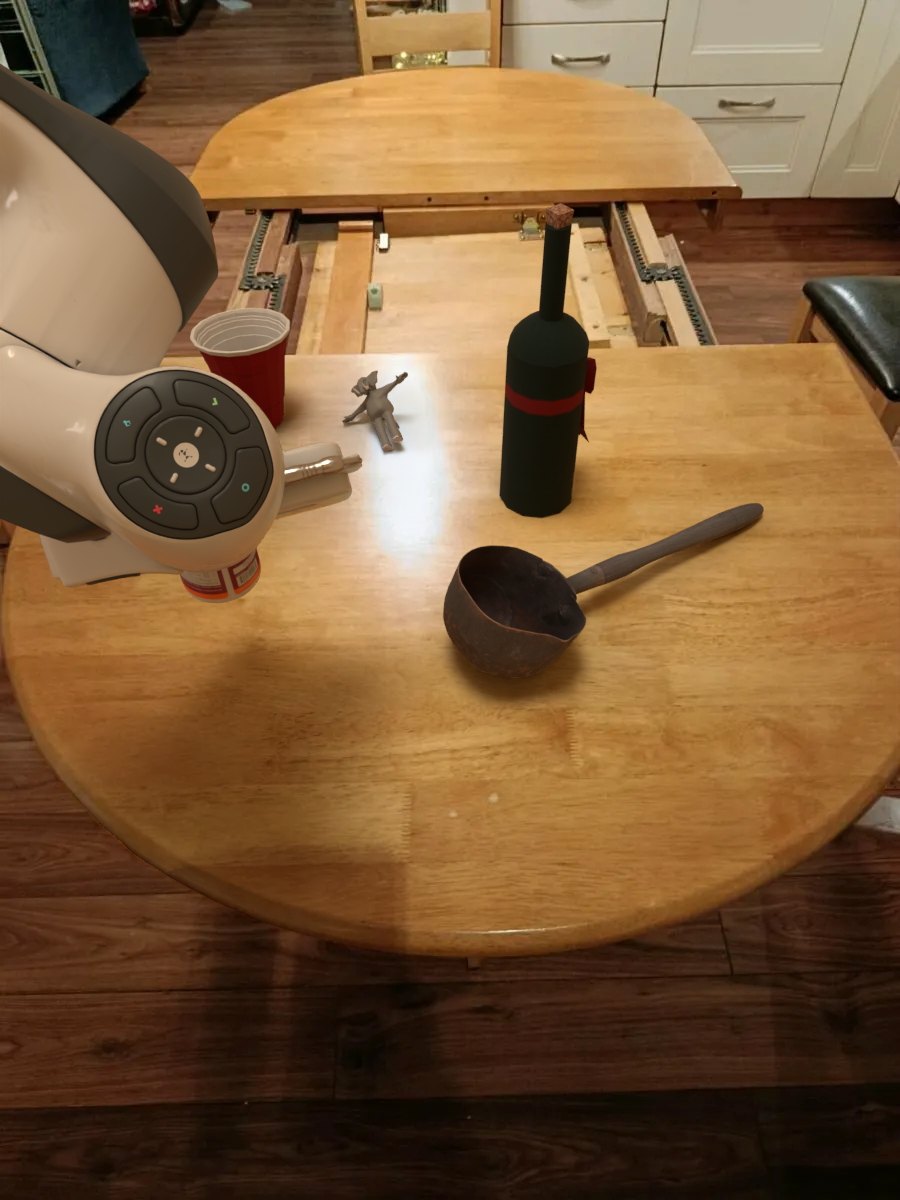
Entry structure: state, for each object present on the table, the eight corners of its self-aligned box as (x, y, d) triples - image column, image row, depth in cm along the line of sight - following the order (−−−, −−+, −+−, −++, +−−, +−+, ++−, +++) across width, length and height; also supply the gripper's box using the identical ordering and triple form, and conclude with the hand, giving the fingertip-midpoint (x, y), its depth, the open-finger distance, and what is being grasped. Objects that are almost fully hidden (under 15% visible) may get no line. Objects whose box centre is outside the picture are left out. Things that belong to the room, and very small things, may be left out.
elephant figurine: (345, 463, 95) (320, 398, 98) (377, 475, 100) (353, 413, 103) (411, 412, 90) (384, 346, 93) (442, 427, 95) (415, 364, 98)
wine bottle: (604, 490, 91) (650, 206, 69) (530, 528, 87) (553, 240, 65) (556, 453, 95) (585, 175, 73) (484, 487, 91) (491, 204, 69)
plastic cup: (295, 385, 105) (279, 294, 96) (314, 435, 98) (299, 342, 89) (207, 402, 103) (183, 310, 94) (220, 454, 96) (194, 361, 87)
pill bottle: (252, 542, 70) (223, 429, 61) (270, 593, 66) (243, 480, 58) (176, 563, 68) (137, 450, 60) (191, 616, 64) (151, 503, 56)
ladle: (406, 627, 75) (434, 543, 69) (679, 537, 97) (721, 467, 90) (482, 724, 70) (520, 643, 63) (754, 606, 91) (804, 536, 85)
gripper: (353, 405, 52) (327, 443, 65) (0, 487, 47) (50, 510, 60) (381, 504, 53) (349, 522, 66) (35, 596, 48) (77, 595, 61)
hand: (204, 517), depth 63 cm, fingers closed on pill bottle, 6 cm apart
